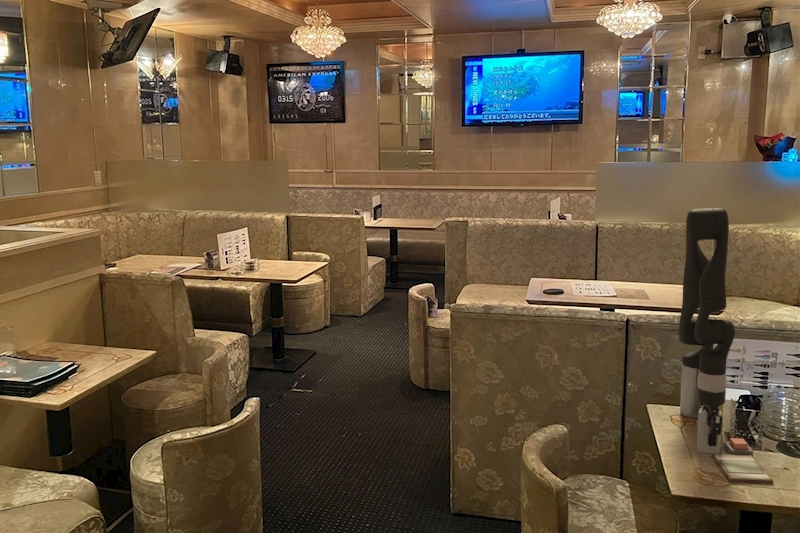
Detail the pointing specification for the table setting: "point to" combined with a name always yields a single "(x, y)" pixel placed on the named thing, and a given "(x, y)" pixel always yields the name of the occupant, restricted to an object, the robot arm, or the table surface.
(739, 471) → the beige flat rectangular slab
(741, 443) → the button
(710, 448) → the skincare box
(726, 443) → the button housing
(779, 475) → the table surface
